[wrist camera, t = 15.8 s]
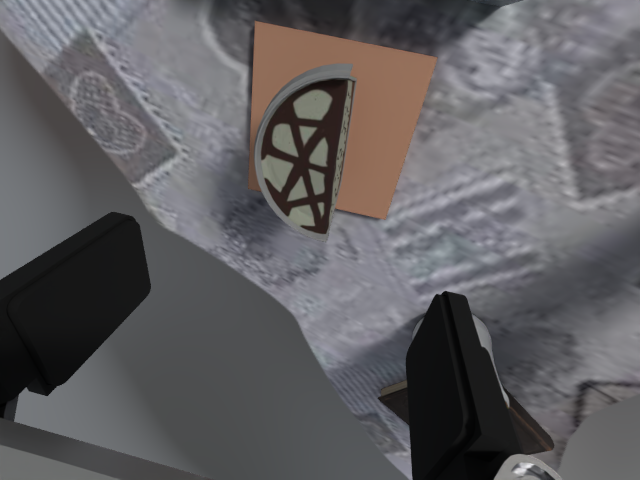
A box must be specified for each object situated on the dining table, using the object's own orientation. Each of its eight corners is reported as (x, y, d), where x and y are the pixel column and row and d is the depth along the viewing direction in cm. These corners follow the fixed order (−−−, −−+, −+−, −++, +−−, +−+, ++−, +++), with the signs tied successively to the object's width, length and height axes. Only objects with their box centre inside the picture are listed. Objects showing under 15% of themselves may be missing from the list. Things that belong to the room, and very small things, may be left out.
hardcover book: (456, 454, 57) (459, 468, 55) (378, 385, 51) (378, 399, 49) (549, 433, 50) (556, 449, 48) (472, 350, 43) (476, 364, 41)
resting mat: (435, 57, 26) (437, 57, 25) (385, 215, 34) (385, 219, 33) (259, 21, 26) (255, 21, 26) (251, 185, 35) (248, 188, 34)
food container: (287, 48, 26) (243, 51, 18) (360, 58, 26) (350, 65, 17) (281, 185, 33) (248, 234, 25) (339, 195, 33) (325, 248, 24)
